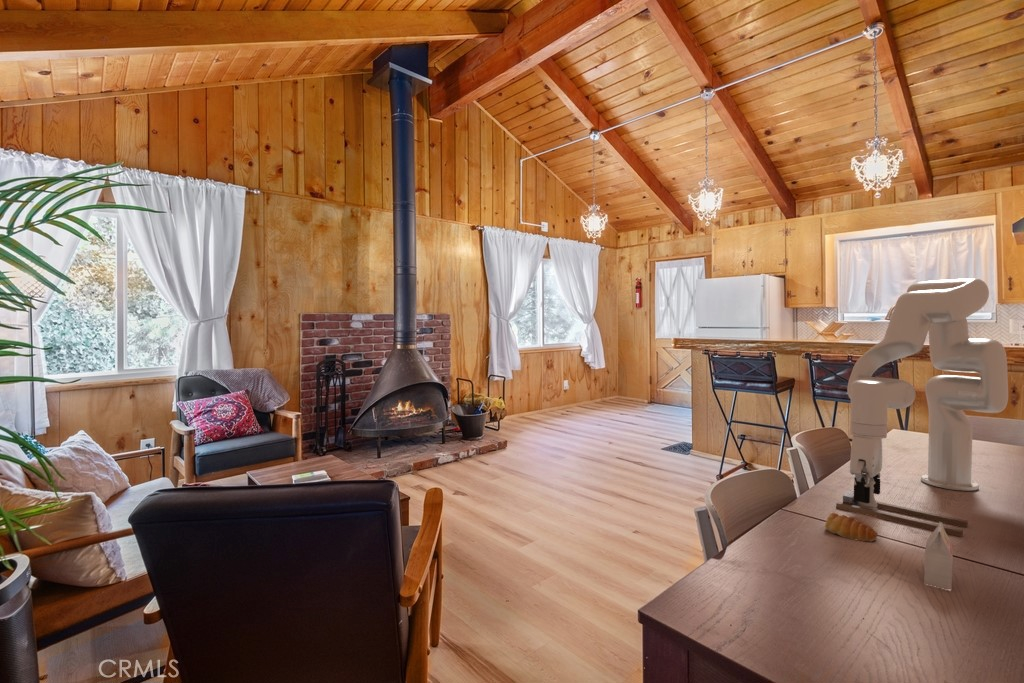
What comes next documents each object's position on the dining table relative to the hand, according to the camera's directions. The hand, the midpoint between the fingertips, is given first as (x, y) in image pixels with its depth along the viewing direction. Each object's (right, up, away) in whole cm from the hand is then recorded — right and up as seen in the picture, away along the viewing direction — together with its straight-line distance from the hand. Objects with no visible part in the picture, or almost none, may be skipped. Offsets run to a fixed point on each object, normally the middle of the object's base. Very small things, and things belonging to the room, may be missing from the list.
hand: (867, 497), depth 127 cm
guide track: (+4, -3, -5) cm, 7 cm away
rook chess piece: (0, -3, 0) cm, 3 cm away
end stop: (-2, -3, +3) cm, 5 cm away
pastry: (-14, -4, -14) cm, 20 cm away
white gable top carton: (-12, -5, -35) cm, 37 cm away
